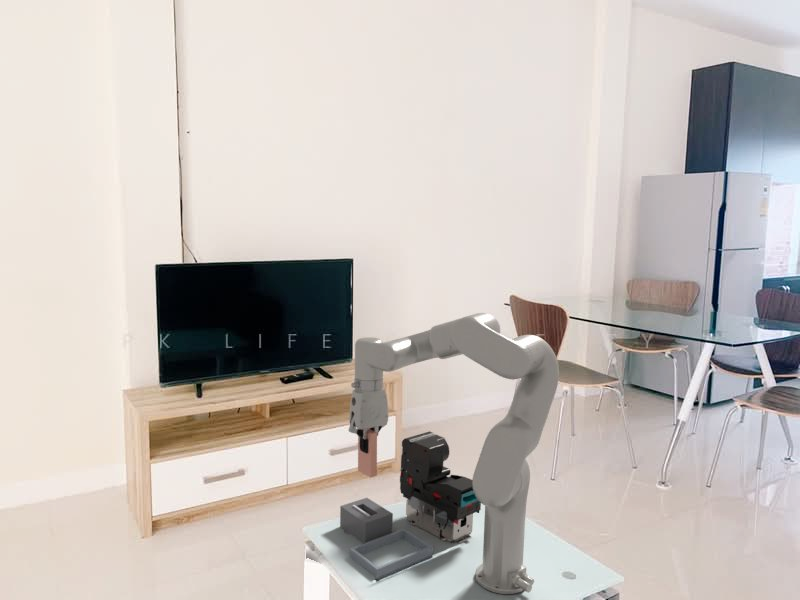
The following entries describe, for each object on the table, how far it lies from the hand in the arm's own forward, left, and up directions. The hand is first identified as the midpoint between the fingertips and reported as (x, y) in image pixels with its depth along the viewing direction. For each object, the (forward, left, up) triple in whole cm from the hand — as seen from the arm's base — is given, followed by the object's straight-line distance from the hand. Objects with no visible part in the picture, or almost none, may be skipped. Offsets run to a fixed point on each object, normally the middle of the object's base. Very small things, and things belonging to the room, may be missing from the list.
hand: (367, 450), depth 162 cm
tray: (-14, +2, -24) cm, 28 cm away
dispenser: (0, 0, -24) cm, 24 cm away
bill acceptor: (-10, -18, -24) cm, 32 cm away
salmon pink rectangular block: (0, 0, -6) cm, 6 cm away
